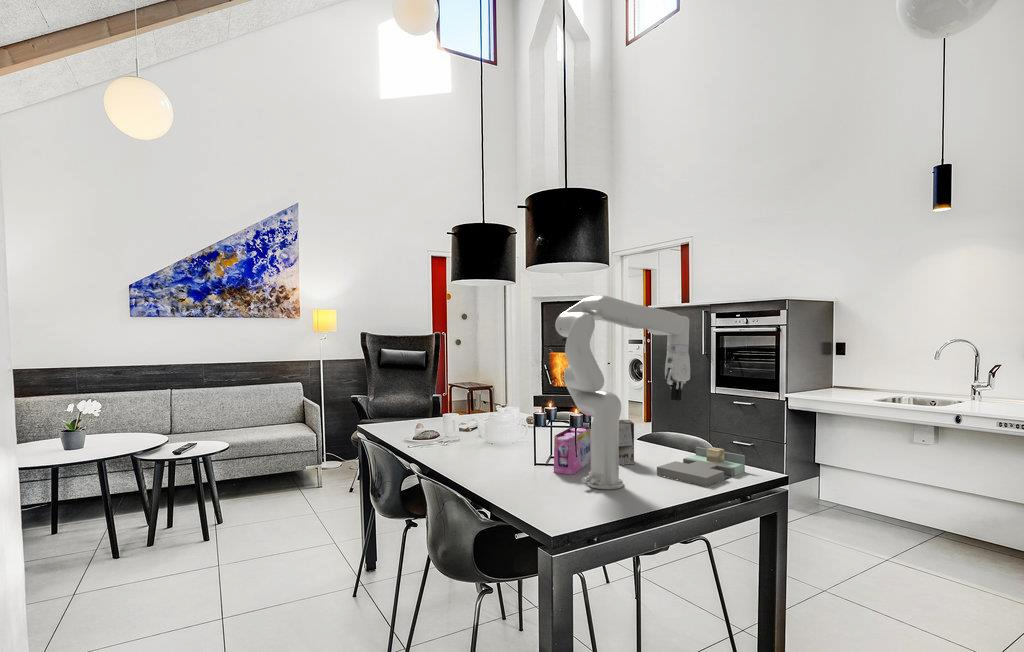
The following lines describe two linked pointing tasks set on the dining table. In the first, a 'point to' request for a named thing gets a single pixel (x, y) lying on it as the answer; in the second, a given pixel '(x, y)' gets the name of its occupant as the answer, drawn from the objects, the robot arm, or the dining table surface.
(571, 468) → the gum box
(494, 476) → the dining table surface
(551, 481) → the dining table surface
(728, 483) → the dining table surface
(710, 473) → the board
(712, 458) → the block
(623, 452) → the coffee box
